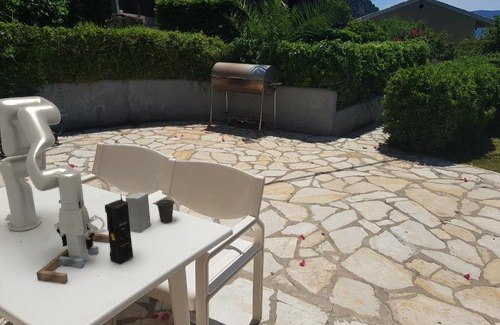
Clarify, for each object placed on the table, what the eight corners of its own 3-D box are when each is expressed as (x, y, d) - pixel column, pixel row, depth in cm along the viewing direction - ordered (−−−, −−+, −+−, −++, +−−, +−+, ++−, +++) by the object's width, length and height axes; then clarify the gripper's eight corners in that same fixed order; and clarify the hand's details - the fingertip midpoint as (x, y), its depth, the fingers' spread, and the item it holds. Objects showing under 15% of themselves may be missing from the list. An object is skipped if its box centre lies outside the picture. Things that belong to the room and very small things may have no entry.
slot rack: (37, 280, 127) (36, 272, 126) (88, 238, 156) (87, 232, 155) (65, 283, 126) (64, 275, 125) (111, 241, 154) (110, 234, 153)
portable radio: (118, 266, 136) (111, 203, 129) (107, 261, 139) (100, 199, 132) (134, 256, 143) (129, 196, 136) (124, 252, 146) (118, 193, 139)
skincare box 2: (140, 233, 161) (138, 199, 157) (127, 230, 164) (124, 197, 159) (151, 225, 169) (149, 192, 165) (138, 222, 171) (136, 190, 167)
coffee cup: (156, 218, 175) (154, 199, 173) (173, 216, 179) (172, 196, 176) (159, 226, 168) (157, 205, 166) (176, 223, 171) (175, 203, 169)
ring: (88, 235, 158) (86, 218, 156) (87, 232, 161) (85, 215, 159) (105, 232, 162) (104, 215, 159) (104, 229, 164) (103, 212, 162)
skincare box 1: (89, 258, 141) (86, 229, 138) (80, 263, 138) (76, 234, 134) (77, 254, 144) (74, 226, 140) (68, 259, 140) (64, 231, 137)
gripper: (44, 206, 132) (50, 248, 137) (88, 210, 129) (93, 253, 134) (58, 198, 139) (63, 239, 144) (100, 202, 136) (104, 243, 141)
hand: (78, 246), depth 139 cm, fingers open, 9 cm apart
